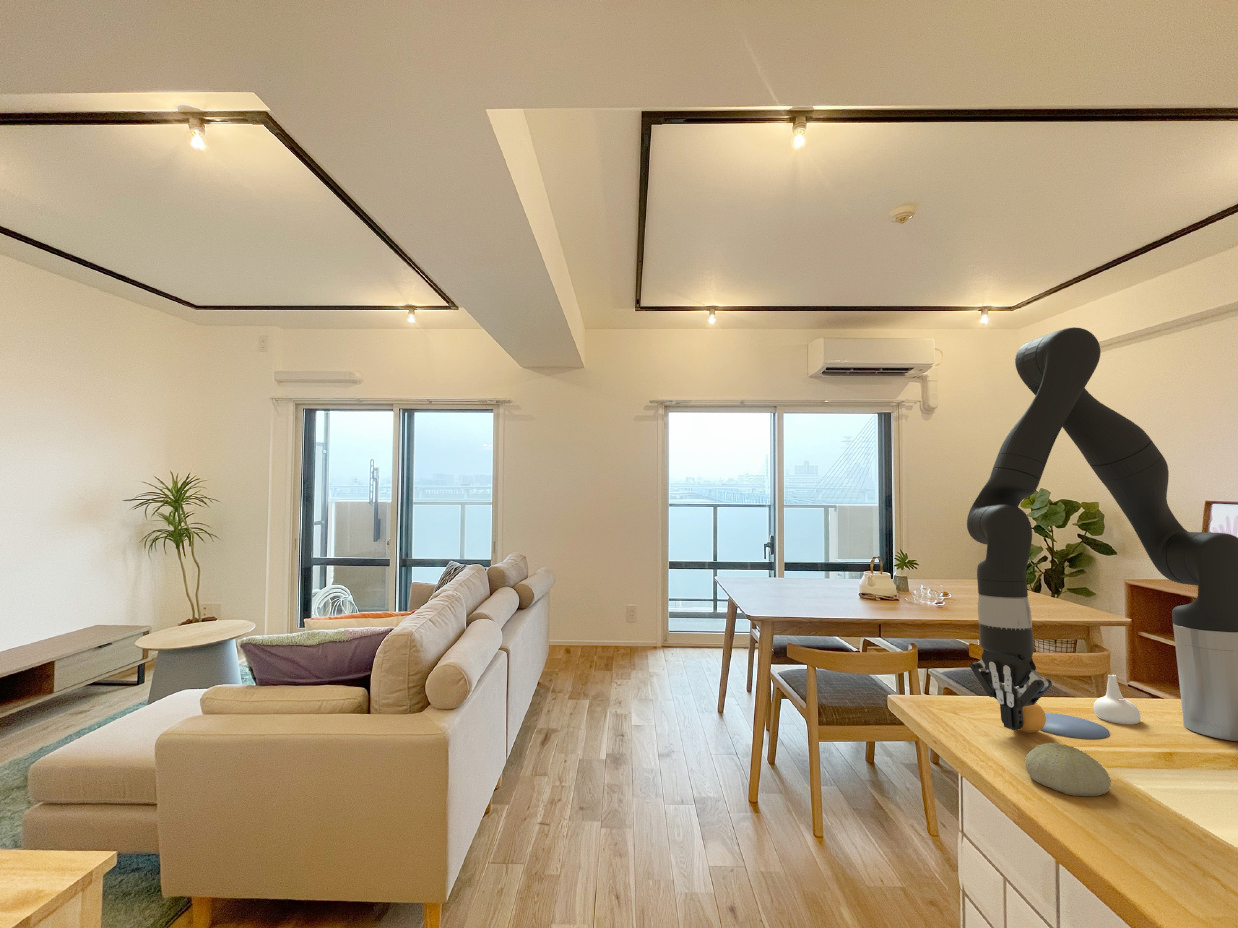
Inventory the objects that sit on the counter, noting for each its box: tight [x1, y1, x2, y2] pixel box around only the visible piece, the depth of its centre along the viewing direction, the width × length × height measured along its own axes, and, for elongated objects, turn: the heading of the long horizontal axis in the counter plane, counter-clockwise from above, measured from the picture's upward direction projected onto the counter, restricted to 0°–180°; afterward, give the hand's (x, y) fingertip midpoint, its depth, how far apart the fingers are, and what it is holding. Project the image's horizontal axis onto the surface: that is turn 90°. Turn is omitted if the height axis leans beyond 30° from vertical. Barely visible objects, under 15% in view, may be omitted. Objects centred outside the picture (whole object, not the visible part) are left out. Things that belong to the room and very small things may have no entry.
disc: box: [1040, 712, 1111, 740], centre depth 98 cm, size 12×12×1 cm
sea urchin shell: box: [1024, 742, 1112, 797], centre depth 77 cm, size 9×8×8 cm
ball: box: [1019, 702, 1046, 734], centre depth 95 cm, size 6×6×6 cm
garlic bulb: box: [1093, 674, 1142, 726], centre depth 101 cm, size 6×6×8 cm
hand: (1012, 728), depth 94 cm, fingers closed
